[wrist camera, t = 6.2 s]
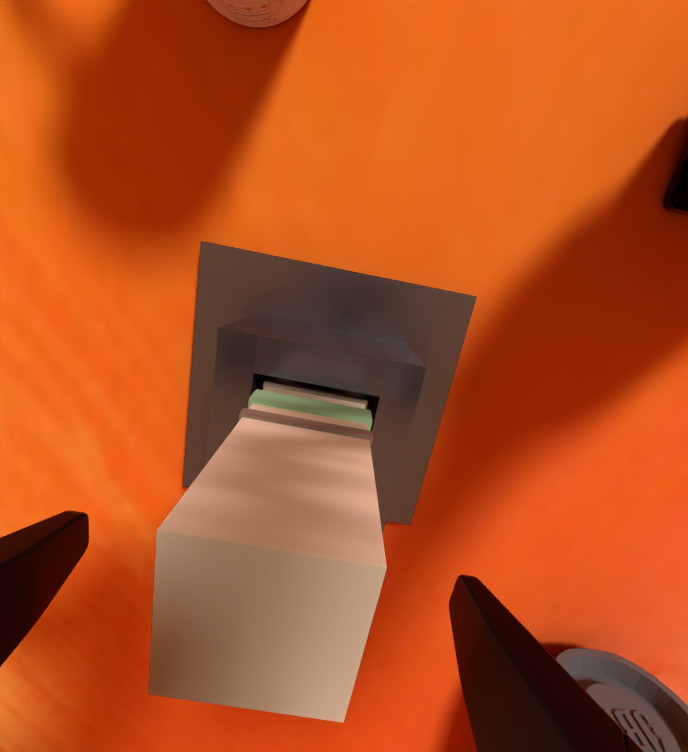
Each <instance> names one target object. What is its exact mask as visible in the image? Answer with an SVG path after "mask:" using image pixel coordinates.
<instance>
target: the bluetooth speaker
mask: <svg viewBox="0 0 688 752" xmlns="http://www.w3.org/2000/svg"><path fill="white" fill-rule="evenodd" d="M556 660H557V662H558V663H559V664H560V665H561V666H562V667H563V668H564V669H565V670H566V671H567V672H568V673H569V674H570V675H571V676H572V677H573V678H574V679H575V680H576V681H577V682H578V683H579V684H580V685H581V687H582V688H583V689H584V690H585V691H586V692H587V693H588V694H589V695H590V696H591V697H592V698H593V699H594V700H595V701H596V702H597V703H598V704H599V705H600V706H601V707H602V708H603V709H604V711H605V712H606V713H607V714H608V715H609V716H610V717H611V718H612V719H613V720H614V721H615V722H616V723H617V724H618V725H619V726H620V727H621V728H622V730H623V733H626V734H628V735H629V736H630V737H631V738H632V740H633V741H634V742H635V743H636V744H637V745H638V746H639V747H640V748H641V749H642V750H643V751H644V752H688V706H687V705H686V704H685V703H684V702H683V701H682V700H681V699H680V698H679V697H678V696H677V695H676V694H675V693H674V692H673V691H671V690H670V689H669V688H668V687H667V686H666V685H664V684H663V683H662V682H660V681H659V680H658V679H657V678H655V677H654V676H653V675H651V674H650V673H648V672H647V671H645V670H644V669H642V668H641V667H639V666H637V665H636V664H634V663H632V662H630V661H629V660H627V659H625V658H623V657H620V656H618V655H615V654H613V653H609V652H605V651H600V650H593V649H584V648H575V649H568V650H565V651H563V652H562V653H560V654H559V655H558V656H557V658H556Z"/></svg>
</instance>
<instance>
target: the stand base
mask: <svg viewBox="0 0 688 752" xmlns="http://www.w3.org/2000/svg"><path fill="white" fill-rule="evenodd" d="M475 301H476V296H471V295H466V294H461V293H456V292H451V291H446V290H441V289H436V288H431V287H426V286H421V285H417V284H412V283H407V282H402V281H397V280H392V279H387V278H382V277H377V276H372V275H367V274H362V273H357V272H352V271H347V270H342V269H337V268H332V267H327V266H322V265H317V264H312V263H307V262H302V261H298V260H293V259H288V258H283V257H278V256H273V255H268V254H263V253H258V252H253V251H248V250H243V249H238V248H233V247H228V246H223V245H218V244H213V243H208V242H203V241H201V246H200V260H199V273H198V287H197V300H196V313H195V327H194V340H193V354H192V367H191V381H190V394H189V408H188V421H187V434H186V448H185V461H184V475H183V486H184V487H190V486H191V484H192V483H193V482H194V480H195V479H196V478H197V476H198V475H199V474H200V472H201V471H202V470H203V468H204V467H205V466H206V464H207V463H208V462H209V460H210V459H211V458H212V456H213V455H214V454H215V452H216V451H217V450H218V449H219V447H220V446H221V445H222V443H223V442H224V441H225V439H226V438H227V437H228V435H229V434H230V433H231V431H232V430H233V429H234V427H235V426H236V425H237V423H238V420H239V413H240V412H241V411H242V410H243V408H248V402H249V398H250V396H251V395H252V394H253V393H254V391H255V390H256V389H258V390H263V384H264V382H265V381H266V380H272V381H277V382H282V383H288V384H293V385H299V386H304V387H309V388H315V389H320V390H325V391H331V392H336V393H341V394H347V395H352V396H358V397H363V398H367V402H368V403H367V407H366V409H367V410H371V415H372V425H371V429H370V431H372V433H373V442H372V446H371V455H372V462H373V469H374V477H375V484H376V491H377V499H378V506H379V513H380V521H381V528H382V533H383V530H384V526H385V522H386V521H389V522H395V523H401V524H406V525H410V524H411V521H412V517H413V514H414V510H415V507H416V503H417V500H418V497H419V493H420V490H421V486H422V483H423V479H424V476H425V473H426V469H427V466H428V462H429V459H430V455H431V452H432V448H433V445H434V442H435V438H436V435H437V431H438V428H439V424H440V421H441V418H442V414H443V411H444V407H445V404H446V400H447V397H448V394H449V390H450V387H451V383H452V380H453V376H454V373H455V370H456V366H457V363H458V359H459V356H460V352H461V349H462V345H463V342H464V339H465V335H466V332H467V328H468V325H469V321H470V318H471V315H472V311H473V308H474V304H475Z"/></svg>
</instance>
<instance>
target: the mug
mask: <svg viewBox="0 0 688 752" xmlns="http://www.w3.org/2000/svg"><path fill="white" fill-rule="evenodd" d="M207 1H208V3H209V4H210V5H211V6H212V7H213V8H214V9H216V10H217V11H218V12H219V13H220V14H222V15H223V16H225V17H226V18H228V19H229V20H231V21H233V22H236V23H238V24H241V25H244V26H248V27H258V28H259V27H269V26H273V25H276V24H279V23H281V22H283V21H285V20H287V19H289V18H290V17H292V16H293V15H294V14H295V13H297V12H298V11H299V10H300V9H301V8H302V7H303V5H304V4H305V3H306V2H307V0H207Z"/></svg>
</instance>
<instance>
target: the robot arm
mask: <svg viewBox="0 0 688 752" xmlns="http://www.w3.org/2000/svg"><path fill="white" fill-rule="evenodd" d="M677 195H679V197H680V198H679V202H678V203H677V201H676V197H677ZM663 203H664V207H665V208H666V209H667V210H669V211H674V212H678V213H683V214H687V215H688V140H687V142H686V145H685V147H684V150H683V152H682V155H681V158H680V160H679V163H678V165H677V167H676V170H675V172H674V175H673V177H672V180H671V182H670V185H669V187H668V190H667V192H666V195H665V197H664V201H663ZM88 543H89V519H88V515H87V514H86V513H83V512H77V511H65V512H62V513H60V514H57V515H55V516H52V517H50V518H48V519H45V520H43V521H40V522H38V523H35V524H33V525H30V526H28V527H25V528H23V529H21V530H18V531H16V532H13V533H11V534H8V535H6V536H3V537H1V538H0V667H1V665H2V664H3V663H4V662H5V661H6V659H7V658H8V657H9V656H10V654H11V653H12V652H13V651H14V649H15V648H16V647H17V646H18V645H19V643H20V642H21V641H22V640H23V638H24V637H25V636H26V635H27V633H28V632H29V631H30V630H31V628H32V627H33V626H34V625H35V623H36V622H37V621H38V619H39V618H40V617H41V615H42V614H43V612H44V611H45V610H46V608H47V607H48V605H49V604H50V602H51V601H52V599H53V598H54V597H55V595H56V594H57V592H58V591H59V589H60V588H61V586H62V585H63V583H64V582H65V580H66V579H67V578H68V576H69V575H70V573H71V572H72V570H73V569H74V567H75V566H76V564H77V563H78V562H79V560H80V559H81V557H82V556H83V554H84V553H85V551H86V549H87V546H88ZM449 613H450V619H451V625H452V632H453V638H454V645H455V651H456V657H457V664H458V670H459V676H460V681H461V686H462V691H463V695H464V700H465V704H466V708H467V712H468V716H469V720H470V724H471V728H472V732H473V736H474V740H475V744H476V748H477V752H644V751H643V750H642V749H641V748H640V747H639V746H638V745H637V744H636V743H635V742H634V741H633V740H632V738H631V737H630V736H629V735H628V734H626V733H623V730H622V728H621V727H620V726H619V725H618V724H617V723H616V722H615V721H614V720H613V719H612V718H611V717H610V716H609V715H608V714H607V713H606V712H605V711H604V709H603V708H602V707H601V706H600V705H599V704H598V703H597V702H596V701H595V700H594V699H593V698H592V697H591V696H590V695H589V694H588V693H587V692H586V691H585V690H584V689H583V688H582V687H581V685H580V684H579V683H578V682H577V681H576V680H575V679H574V678H573V677H572V676H571V675H570V674H569V673H568V672H567V671H566V670H565V669H564V668H563V667H562V666H561V665H560V664H559V663H558V662H557V660H556V659H555V658H554V657H553V656H552V655H551V654H550V653H549V652H548V651H547V650H546V649H545V648H544V647H543V646H542V645H541V644H540V643H539V642H538V641H537V640H536V639H535V638H534V636H533V635H532V634H531V633H530V632H529V631H528V630H527V629H526V628H525V627H524V626H523V625H522V624H521V623H520V622H519V621H518V620H517V619H516V618H515V617H514V616H513V615H512V614H511V613H510V611H509V610H508V609H507V608H506V607H505V606H504V605H503V604H502V603H501V602H500V601H499V600H498V599H497V598H496V597H495V596H494V595H493V594H492V593H491V592H490V591H489V590H488V589H487V587H486V586H485V585H484V584H483V583H482V582H481V581H480V580H479V579H478V578H476V577H474V576H468V575H459V576H458V578H457V580H456V583H455V586H454V589H453V592H452V594H451V597H450V601H449Z"/></svg>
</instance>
